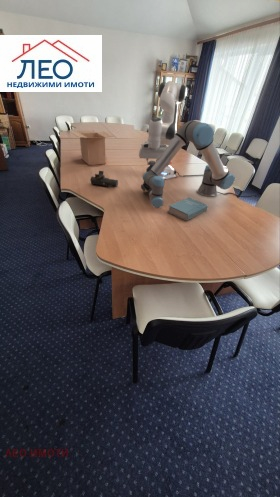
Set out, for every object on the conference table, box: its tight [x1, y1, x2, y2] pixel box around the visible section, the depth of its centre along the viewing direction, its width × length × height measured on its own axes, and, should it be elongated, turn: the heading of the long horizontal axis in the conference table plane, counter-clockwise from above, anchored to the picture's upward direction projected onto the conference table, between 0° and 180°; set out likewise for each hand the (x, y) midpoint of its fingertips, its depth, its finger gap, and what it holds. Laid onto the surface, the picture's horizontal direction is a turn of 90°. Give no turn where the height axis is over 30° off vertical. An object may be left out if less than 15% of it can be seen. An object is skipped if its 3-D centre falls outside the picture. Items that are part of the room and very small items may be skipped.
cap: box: [148, 160, 156, 166], centre depth 162 cm, size 4×4×2 cm
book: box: [167, 196, 208, 222], centre depth 151 cm, size 23×16×5 cm
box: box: [70, 129, 114, 166], centre depth 229 cm, size 44×36×27 cm
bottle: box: [144, 165, 154, 196], centre depth 169 cm, size 8×8×24 cm
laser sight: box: [89, 170, 119, 188], centre depth 180 cm, size 10×22×10 cm, turn 78°
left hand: (151, 164), depth 163 cm, fingers closed on cap, 4 cm apart
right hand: (149, 182), depth 176 cm, fingers closed on bottle, 8 cm apart
